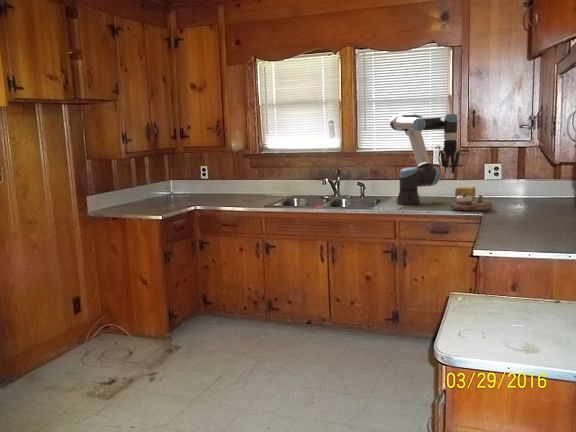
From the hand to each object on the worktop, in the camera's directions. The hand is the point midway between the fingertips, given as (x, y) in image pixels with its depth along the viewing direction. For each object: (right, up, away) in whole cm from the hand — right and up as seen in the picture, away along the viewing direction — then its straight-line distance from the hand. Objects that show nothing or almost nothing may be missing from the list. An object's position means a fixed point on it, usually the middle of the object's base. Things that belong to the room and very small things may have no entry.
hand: (449, 178), depth 339 cm
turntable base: (+11, -20, -7) cm, 24 cm away
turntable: (+11, -18, -8) cm, 22 cm away
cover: (+8, -16, -4) cm, 18 cm away
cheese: (+16, -15, +21) cm, 31 cm away
